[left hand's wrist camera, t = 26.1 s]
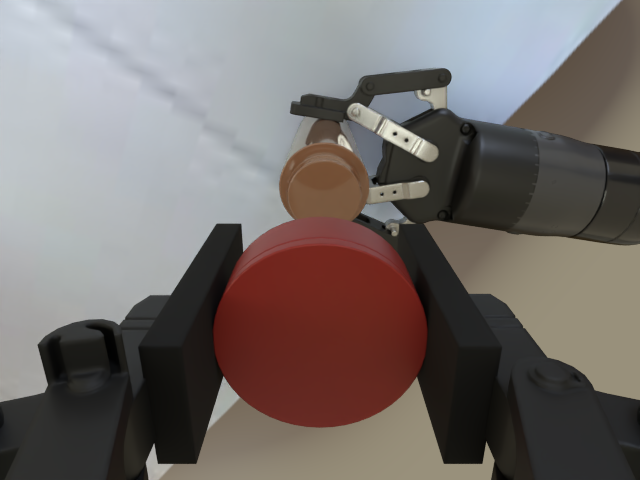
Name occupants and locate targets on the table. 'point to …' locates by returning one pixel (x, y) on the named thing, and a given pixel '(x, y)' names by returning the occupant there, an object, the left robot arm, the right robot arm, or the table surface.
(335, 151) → the jar
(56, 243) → the table surface
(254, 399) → the lid
